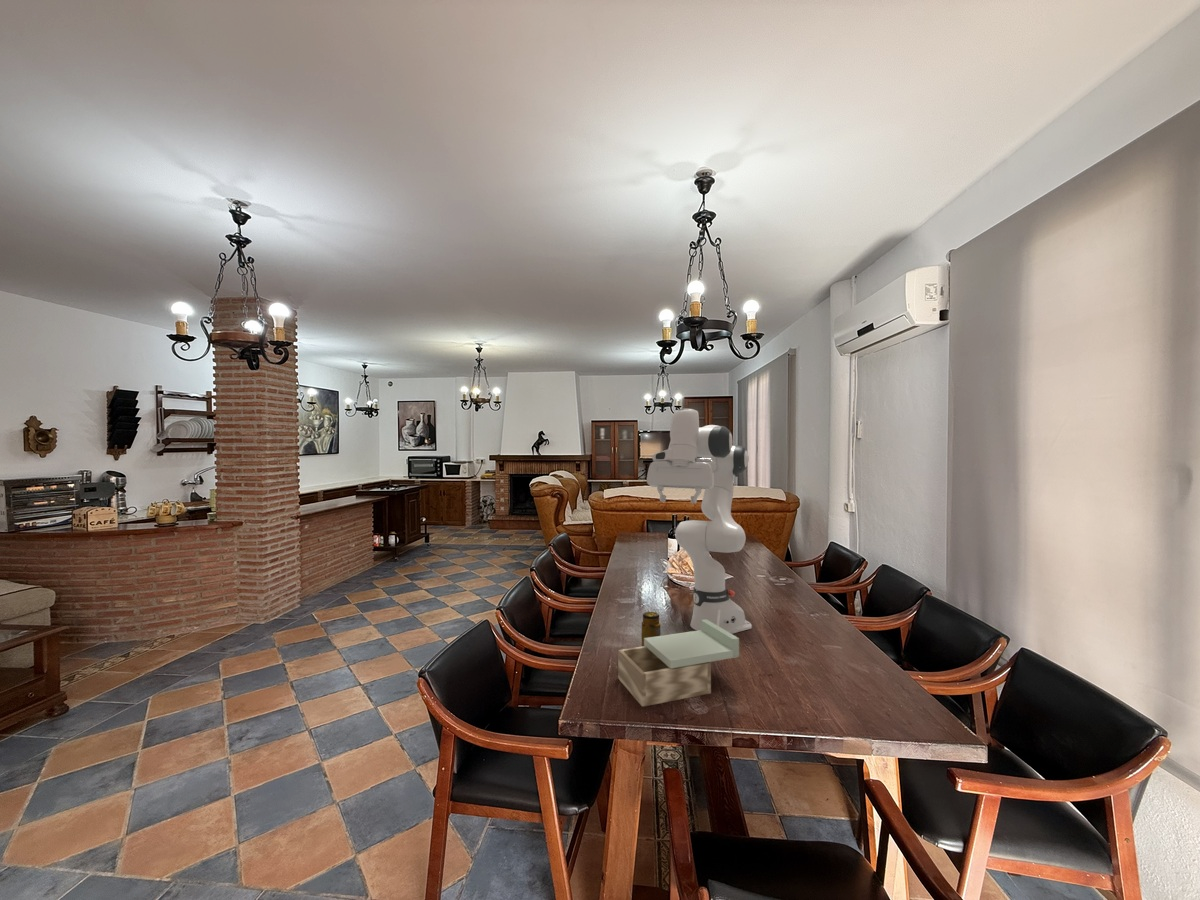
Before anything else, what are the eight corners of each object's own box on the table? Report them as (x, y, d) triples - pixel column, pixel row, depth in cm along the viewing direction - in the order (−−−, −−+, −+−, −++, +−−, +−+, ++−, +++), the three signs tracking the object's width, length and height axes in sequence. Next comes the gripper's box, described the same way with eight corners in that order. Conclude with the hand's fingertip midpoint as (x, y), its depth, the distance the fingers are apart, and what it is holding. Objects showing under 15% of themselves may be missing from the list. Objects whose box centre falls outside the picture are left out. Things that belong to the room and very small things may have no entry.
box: (680, 667, 139) (680, 640, 139) (710, 693, 124) (710, 662, 124) (618, 678, 132) (618, 650, 132) (642, 706, 117) (642, 674, 117)
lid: (706, 635, 142) (706, 619, 142) (739, 656, 127) (739, 638, 127) (643, 645, 135) (643, 627, 135) (670, 668, 120) (670, 648, 120)
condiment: (653, 645, 156) (653, 609, 156) (669, 654, 148) (669, 616, 149) (635, 650, 152) (635, 612, 152) (650, 659, 145) (650, 620, 145)
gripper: (718, 461, 142) (714, 506, 138) (653, 460, 150) (649, 502, 147) (714, 455, 136) (710, 501, 132) (647, 454, 145) (642, 497, 141)
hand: (677, 502), depth 140 cm, fingers open, 8 cm apart
